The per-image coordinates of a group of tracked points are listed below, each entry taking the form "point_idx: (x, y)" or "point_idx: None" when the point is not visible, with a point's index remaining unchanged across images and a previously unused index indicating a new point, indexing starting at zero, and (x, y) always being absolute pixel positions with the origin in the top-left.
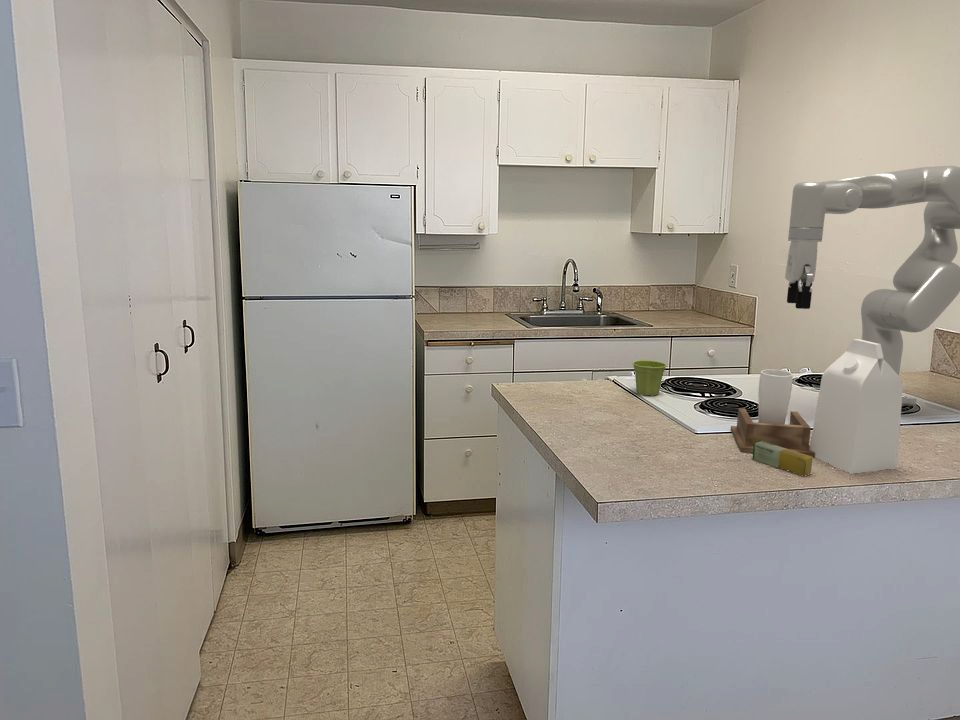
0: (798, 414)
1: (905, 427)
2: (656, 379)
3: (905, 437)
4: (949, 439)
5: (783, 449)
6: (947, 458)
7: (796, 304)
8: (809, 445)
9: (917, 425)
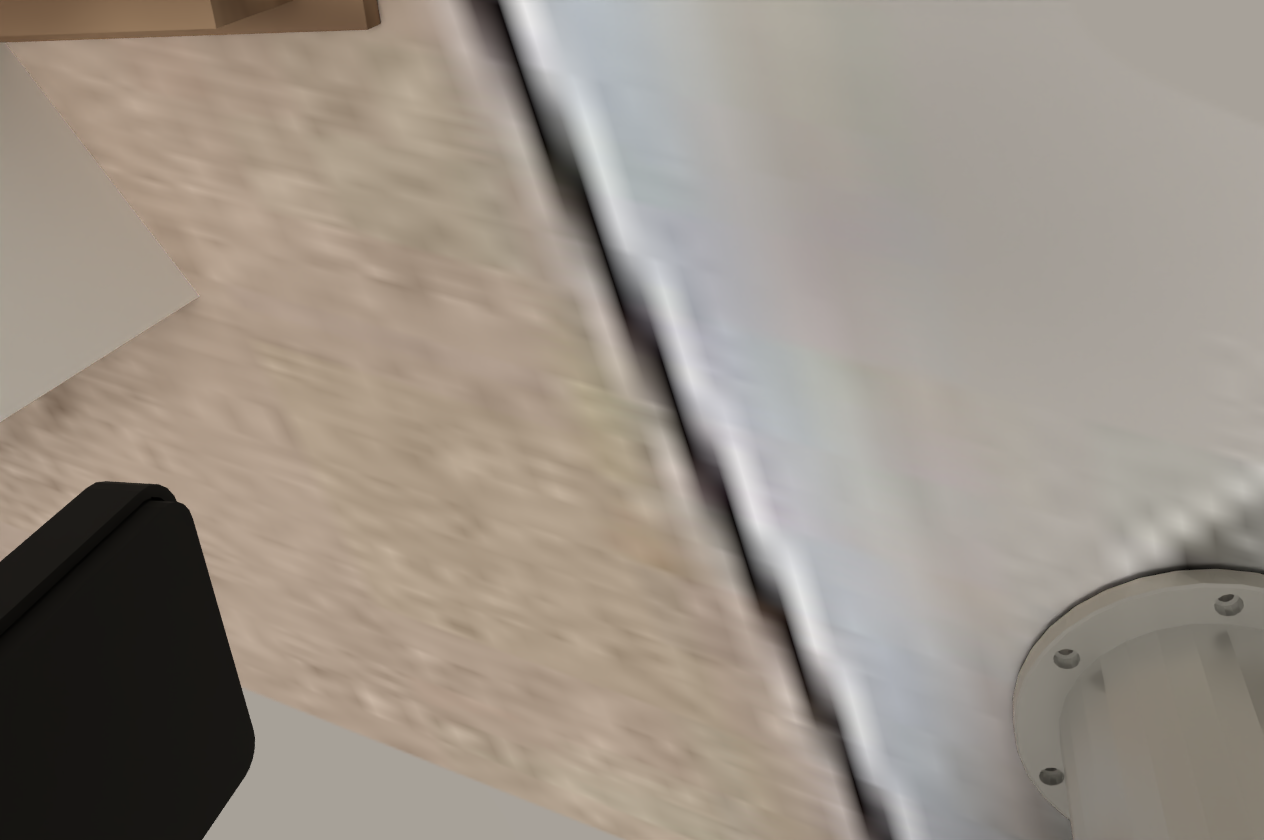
0: (135, 19)
1: (773, 723)
2: None
3: (561, 648)
4: (598, 822)
5: None
6: (272, 687)
7: (45, 533)
8: (49, 40)
9: (836, 795)
